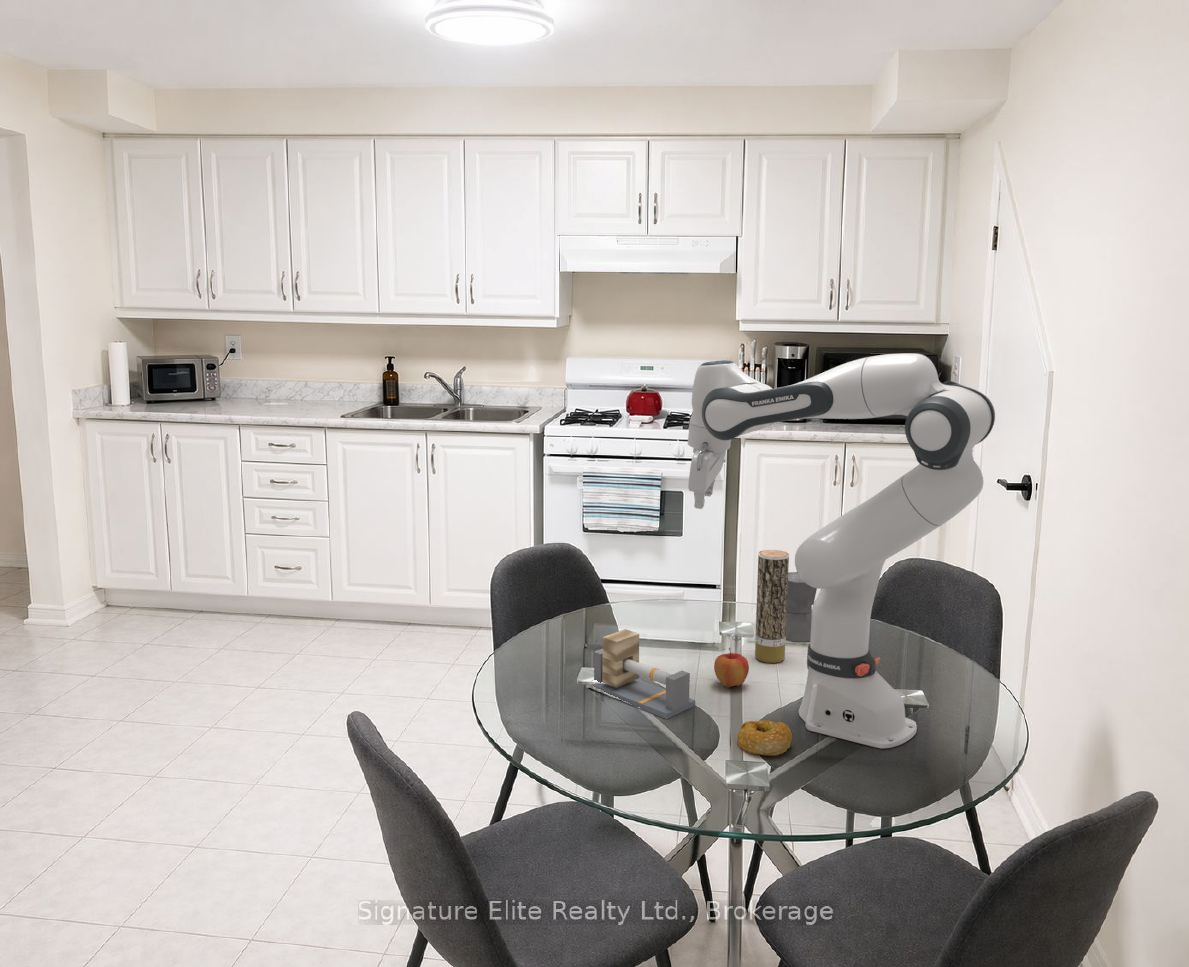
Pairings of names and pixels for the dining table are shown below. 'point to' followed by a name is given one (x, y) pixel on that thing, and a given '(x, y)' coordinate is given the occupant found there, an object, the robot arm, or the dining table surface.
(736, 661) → the apple
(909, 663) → the dining table surface
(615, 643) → the collar
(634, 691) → the pipe stand
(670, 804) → the dining table surface
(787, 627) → the coffeepot
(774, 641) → the brown tall cylinder piece
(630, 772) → the dining table surface
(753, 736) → the bagel
